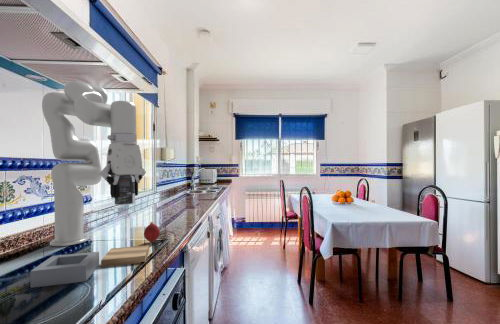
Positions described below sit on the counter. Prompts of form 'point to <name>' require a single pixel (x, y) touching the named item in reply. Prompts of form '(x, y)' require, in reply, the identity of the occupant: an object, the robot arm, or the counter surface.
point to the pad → (125, 256)
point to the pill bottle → (126, 190)
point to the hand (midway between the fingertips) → (124, 196)
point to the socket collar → (64, 269)
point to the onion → (151, 232)
